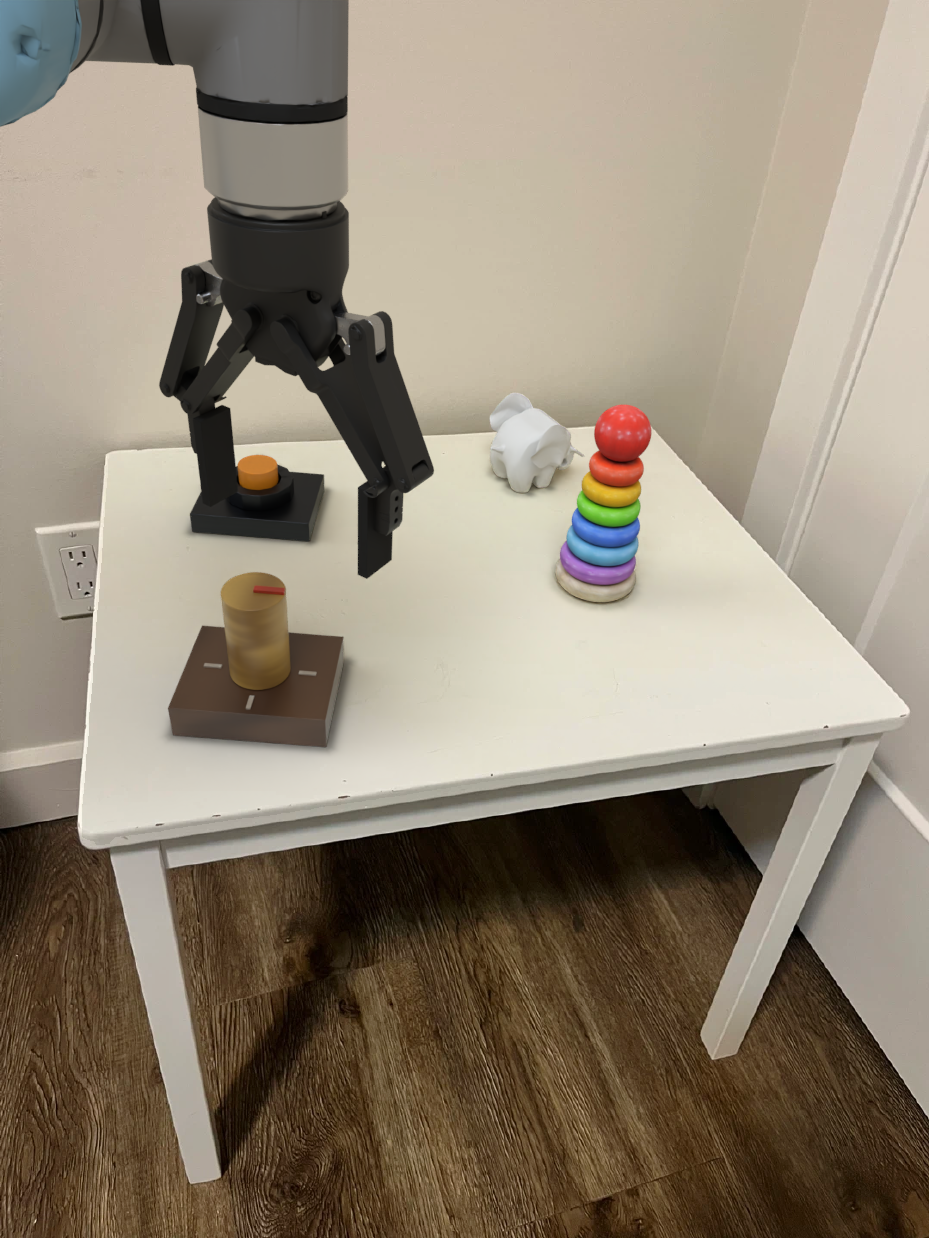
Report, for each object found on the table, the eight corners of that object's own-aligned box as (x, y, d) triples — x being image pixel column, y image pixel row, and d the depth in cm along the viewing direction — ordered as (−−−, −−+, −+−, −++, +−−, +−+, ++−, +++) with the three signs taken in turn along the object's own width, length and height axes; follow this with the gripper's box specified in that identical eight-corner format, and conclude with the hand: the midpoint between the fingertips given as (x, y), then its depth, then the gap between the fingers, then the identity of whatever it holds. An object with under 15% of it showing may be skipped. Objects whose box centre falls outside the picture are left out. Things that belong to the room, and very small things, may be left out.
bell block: (191, 532, 93) (187, 498, 90) (216, 482, 101) (212, 450, 98) (309, 541, 93) (308, 508, 91) (324, 491, 101) (323, 459, 98)
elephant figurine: (595, 486, 106) (608, 416, 101) (508, 507, 101) (517, 435, 96) (549, 449, 113) (559, 381, 107) (465, 467, 107) (471, 397, 102)
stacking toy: (649, 591, 91) (693, 419, 79) (589, 615, 87) (625, 439, 75) (597, 551, 96) (632, 384, 84) (538, 572, 92) (565, 400, 80)
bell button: (235, 489, 93) (233, 472, 92) (243, 470, 96) (242, 453, 95) (274, 492, 93) (273, 475, 92) (281, 473, 96) (280, 456, 95)
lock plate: (172, 735, 71) (167, 706, 69) (205, 651, 79) (201, 623, 77) (326, 747, 71) (325, 718, 69) (343, 662, 79) (343, 635, 77)
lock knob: (223, 687, 71) (212, 604, 66) (237, 648, 75) (228, 566, 70) (284, 692, 71) (279, 609, 66) (295, 652, 75) (291, 571, 70)
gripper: (513, 237, 47) (478, 572, 60) (164, 145, 56) (200, 452, 69) (432, 271, 42) (413, 630, 55) (62, 164, 51) (122, 492, 64)
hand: (294, 531), depth 62 cm, fingers open, 13 cm apart
